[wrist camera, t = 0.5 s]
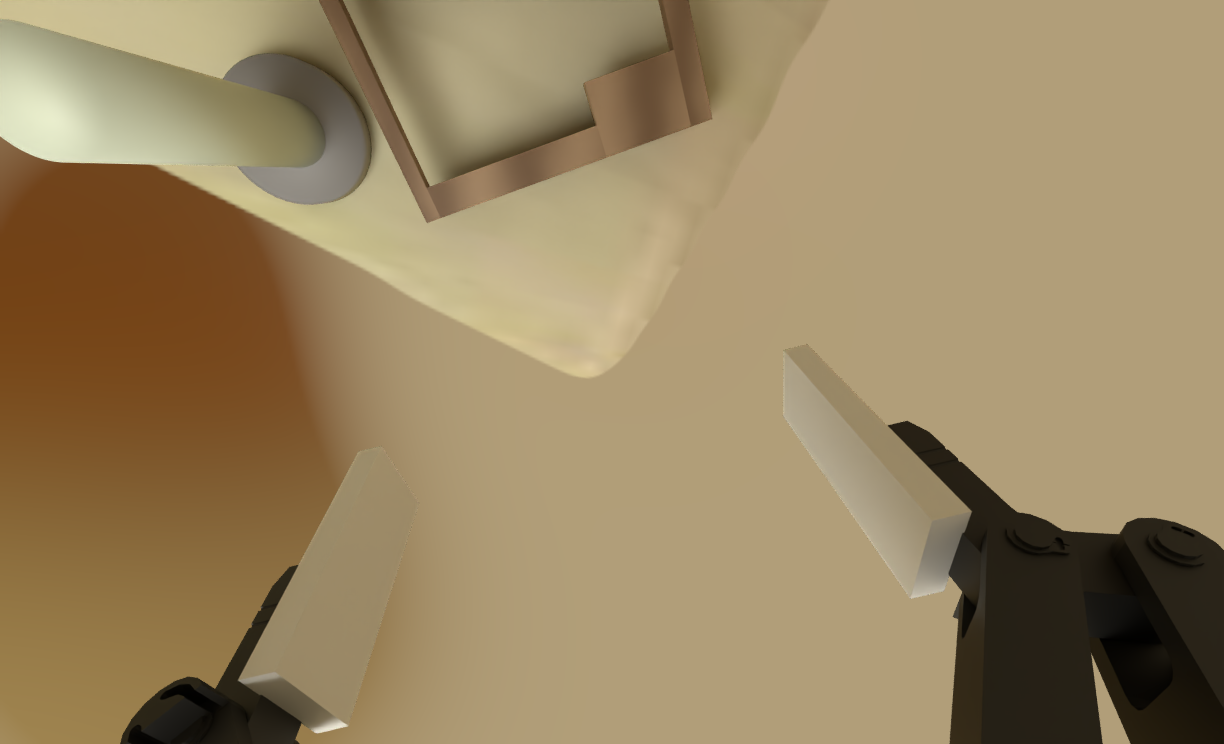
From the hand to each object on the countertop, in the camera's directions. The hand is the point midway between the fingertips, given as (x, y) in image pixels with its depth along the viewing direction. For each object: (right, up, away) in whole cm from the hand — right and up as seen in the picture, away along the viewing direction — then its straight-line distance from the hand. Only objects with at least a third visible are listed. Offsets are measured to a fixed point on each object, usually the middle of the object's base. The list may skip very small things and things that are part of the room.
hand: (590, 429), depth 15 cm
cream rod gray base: (-21, +19, +17) cm, 33 cm away
